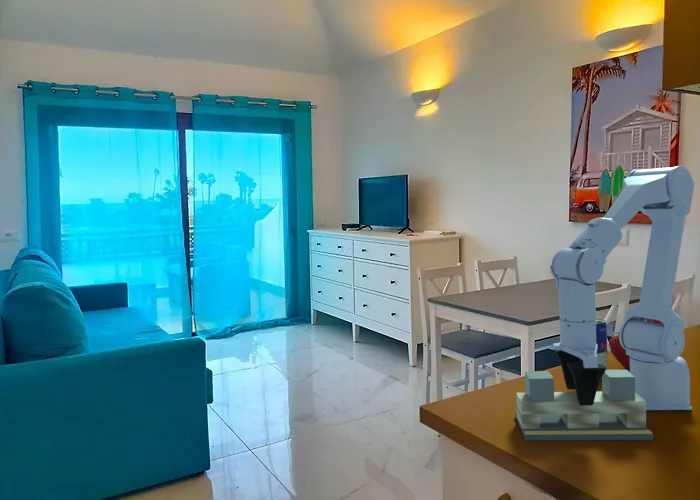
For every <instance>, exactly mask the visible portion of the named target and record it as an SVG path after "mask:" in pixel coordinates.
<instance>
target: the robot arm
mask: <svg viewBox="0 0 700 500" xmlns="http://www.w3.org/2000/svg"><path fill="white" fill-rule="evenodd" d="M694 189H695V181H694V179H693V177H692V174H691V173H690V171H689V170H688V169H687V167H685V166H683V165H677V166H672V167H659V168H658V167H656V168H646V169H645V168H644V169H639V168H637V169H632V170H631V171H629V173H628V174H627V176H626V177H625V178H624V179H622V191H621V192H620V193H619V195H618V196H617V197H616V199H615V201H614V202H613V203H612V205H611V206H610V208H609V209H608V211H607V212H606V213H605V215H604V216H603V217H596V218H593V219H590V220H589V221H588V222H587V226H586V227H585V228H584V229H583V230H582V231H581V233H580V234H579V235H578V236H577V237H576V238H575V239H574V240H573V242H572V243H571V244H570V245H569V247H564V248H561V249H560V250H559V251H558V252H555V254H554V256H553V258H552V262H551V264H550V265H549V268H550V269H549V271H550V273H551V275H552V277H553V279H554V281H555V288H556V290H557V291H558V303H559V304H558V305H559V306H558V309H559V314H558V315H559V339H560V340H559V342H556V343H555V342H554V343H553V344H552V347H553V351H554V353H555V355H556V357H557V359H558V362H559V364H560V367H561V370H562V371H561V372H562V375H563V380H564V383H565V386H566V389H567V390H575V392H576V394H577V399H578V402H579V404H580V405H593V403H594V399H595V395H596V391H597V390H598V386H599V383H600V381H601V380H602V376H603V374H604V373H605V371H606V366H605V365H603V364H598V356H597V355H596V354H597V350H598V345H597V344H596V318H597V316H596V315H597V314H596V313H597V312H596V311H597V309H596V282H597V281H599V280H600V279H601V277H602V276H603V272H604V266H605V264H606V262H607V257H608V256H609V255H610V254H611V253H612V252H613V250H614V249H615V248H616V246H617V245H618V244H619V243H620V242H621V240H622V238H623V233H622V229H623V228H624V227H625V225H627V224H628V223H629V222H630V221H631V220H632V219H633V218H634V216H636V215H637V214H638V212H641V214H643V215H646V216H648V218H649V220H651V222H652V223H651V229H650V235H649V242H648V246H647V247H648V249H647V254H646V260H645V267H644V272H643V278H642V283H641V289H640V290H641V291H640V297H639V302H638V303H637V304H635V305H634V306H633V307H631V308H629V309H627V310H626V311H625V315H624V319H623V322H622V324H621V326H620V328H619V330H618V332H619V334H618V335H619V341H620V344H621V346H622V347H623V348H624V349H626V355H629V356H630V369H629V372H630V373H631V374H632V375H633V376H635V392H636V393H637V394H638V395H639V396H641V397H642V398H643V399H644V400H645V401H646V411H691V410H693V409H692V408H693V407H692V406H691V391H690V390H691V387H690V386H691V378H690V377H691V375H690V369H689V366H688V363H687V361H686V359H684V357H682V356H681V354H682V353H683V351H684V348H685V345H686V344H685V343H686V340H685V339H686V338H685V334H684V333H685V331H684V327H685V321H684V319H683V318H682V317H681V316H680V315H679V314H677V312H676V311H675V310H674V309H673V308H672V302H673V296H674V290H675V284H676V277H677V271H678V264H679V261H680V253H681V248H682V247H681V246H682V241H683V234H684V229H685V228H684V227H685V223H686V222H685V221H686V216H688V215H690V212H691V207H692V200H693V196H694V195H693V194H694ZM646 319H653V320H658V321H661V322H662V323H663V324H659V323H653V322H648V321H644V320H646Z"/></svg>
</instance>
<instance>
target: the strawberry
mask: <svg viewBox="0 0 700 500" xmlns="http://www.w3.org/2000/svg"><path fill="white" fill-rule="evenodd" d="M613 333H614V334H617V335H614V336H612V337H611V338H610V339H609V342H608V346H609V347H608V348H609V350H610V352H611V354H612V355H613V356H614V358H615V359H616V360H617V362H618V363H620V365H621V366H622V367H623V369H625V370H630V356H629V355H626V349H624V348H623V347H622V346H621V344H620V341H619V331H618V332H617V331H614V332H613Z"/></svg>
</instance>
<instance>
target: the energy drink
mask: <svg viewBox="0 0 700 500" xmlns="http://www.w3.org/2000/svg"><path fill="white" fill-rule="evenodd" d="M596 344H597V345H598V350H597V354H596V355H597V356H598V364H603V365H605V366H606V370H608V326H607V322H606V320H605V319H602V318H598V317H596Z"/></svg>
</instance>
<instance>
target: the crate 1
mask: <svg viewBox="0 0 700 500" xmlns="http://www.w3.org/2000/svg"><path fill="white" fill-rule="evenodd" d="M554 379H555V378H554V377H553V375H552V374H551V373H550V371H548V370H537V371H536V370H535V371H533V370H532V371H530V370H529V371H526V370H525V371H524V383H525V384H524V385H525V386H524V387H525V388H524V389H525V392H524V393H526V395H527V397H528V399H529V401H530V402H543V401H554V392H555V380H554Z"/></svg>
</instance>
